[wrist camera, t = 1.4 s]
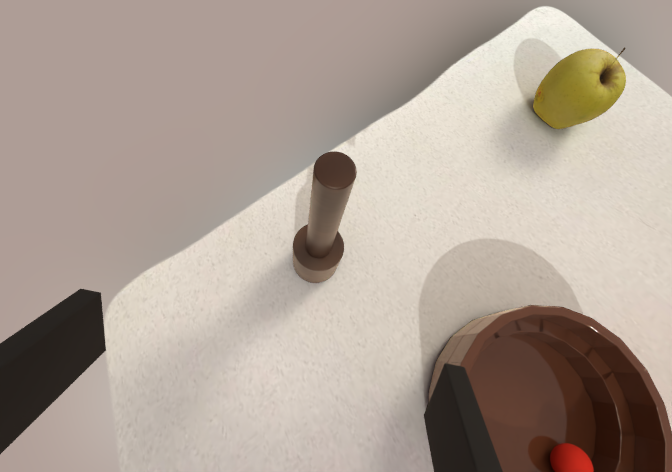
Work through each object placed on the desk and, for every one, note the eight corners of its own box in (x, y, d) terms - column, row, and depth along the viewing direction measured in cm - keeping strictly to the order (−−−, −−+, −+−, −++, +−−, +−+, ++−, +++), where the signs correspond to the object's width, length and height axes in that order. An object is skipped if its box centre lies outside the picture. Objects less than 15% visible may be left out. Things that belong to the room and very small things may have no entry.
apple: (519, 73, 45) (603, 10, 36) (562, 101, 47) (650, 49, 38) (516, 123, 42) (606, 68, 33) (562, 150, 44) (657, 106, 36)
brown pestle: (284, 254, 35) (275, 155, 18) (321, 232, 36) (346, 120, 19) (308, 291, 34) (323, 225, 17) (345, 267, 35) (394, 183, 18)
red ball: (535, 454, 30) (559, 464, 28) (557, 432, 31) (583, 439, 28) (559, 487, 30) (586, 501, 27) (581, 463, 31) (610, 474, 28)
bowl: (387, 384, 32) (407, 390, 26) (519, 280, 36) (560, 266, 31) (517, 580, 28) (573, 637, 22) (645, 436, 33) (717, 453, 27)
